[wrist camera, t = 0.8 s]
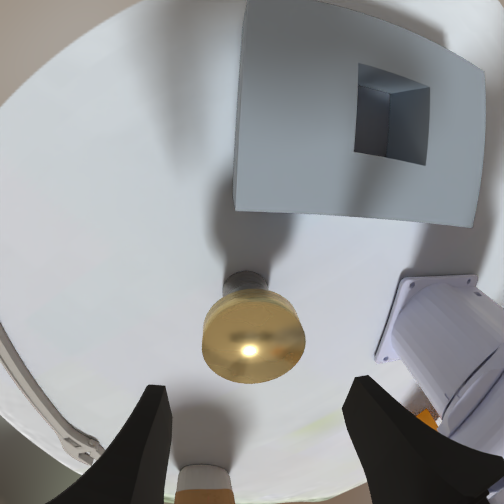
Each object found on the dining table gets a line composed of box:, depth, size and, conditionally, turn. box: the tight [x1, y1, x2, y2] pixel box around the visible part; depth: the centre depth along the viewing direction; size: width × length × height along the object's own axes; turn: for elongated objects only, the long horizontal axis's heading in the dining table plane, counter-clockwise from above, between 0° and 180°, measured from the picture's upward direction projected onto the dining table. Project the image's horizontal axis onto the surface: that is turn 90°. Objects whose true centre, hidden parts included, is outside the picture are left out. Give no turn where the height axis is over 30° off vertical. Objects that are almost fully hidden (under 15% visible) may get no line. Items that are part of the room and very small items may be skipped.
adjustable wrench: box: [0, 323, 105, 466], centre depth 20 cm, size 25×6×2 cm, turn 4°
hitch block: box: [232, 0, 486, 228], centre depth 13 cm, size 14×10×4 cm
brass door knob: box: [202, 271, 306, 384], centre depth 15 cm, size 5×5×6 cm
